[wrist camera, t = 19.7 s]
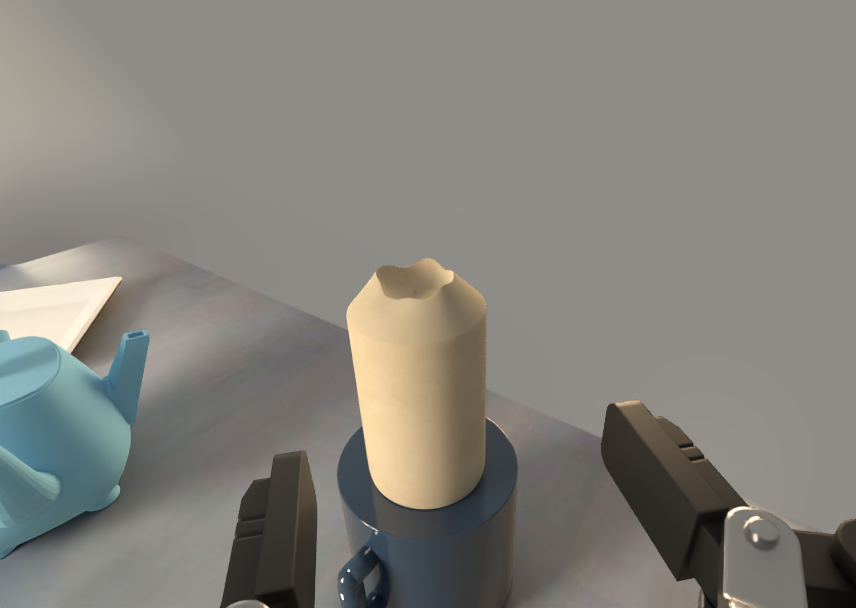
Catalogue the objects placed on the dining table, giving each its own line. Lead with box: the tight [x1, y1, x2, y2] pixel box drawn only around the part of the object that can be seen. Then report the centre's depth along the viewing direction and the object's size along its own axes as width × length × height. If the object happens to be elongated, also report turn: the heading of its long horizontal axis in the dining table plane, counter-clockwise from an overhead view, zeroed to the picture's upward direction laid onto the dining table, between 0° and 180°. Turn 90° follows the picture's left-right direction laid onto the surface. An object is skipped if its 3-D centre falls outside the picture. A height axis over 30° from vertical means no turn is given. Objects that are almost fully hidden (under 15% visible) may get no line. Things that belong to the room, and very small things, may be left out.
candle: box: [347, 259, 486, 509], centre depth 22 cm, size 6×6×10 cm
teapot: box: [0, 328, 149, 559], centre depth 31 cm, size 15×14×11 cm
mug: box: [337, 417, 518, 608], centre depth 25 cm, size 10×9×8 cm
